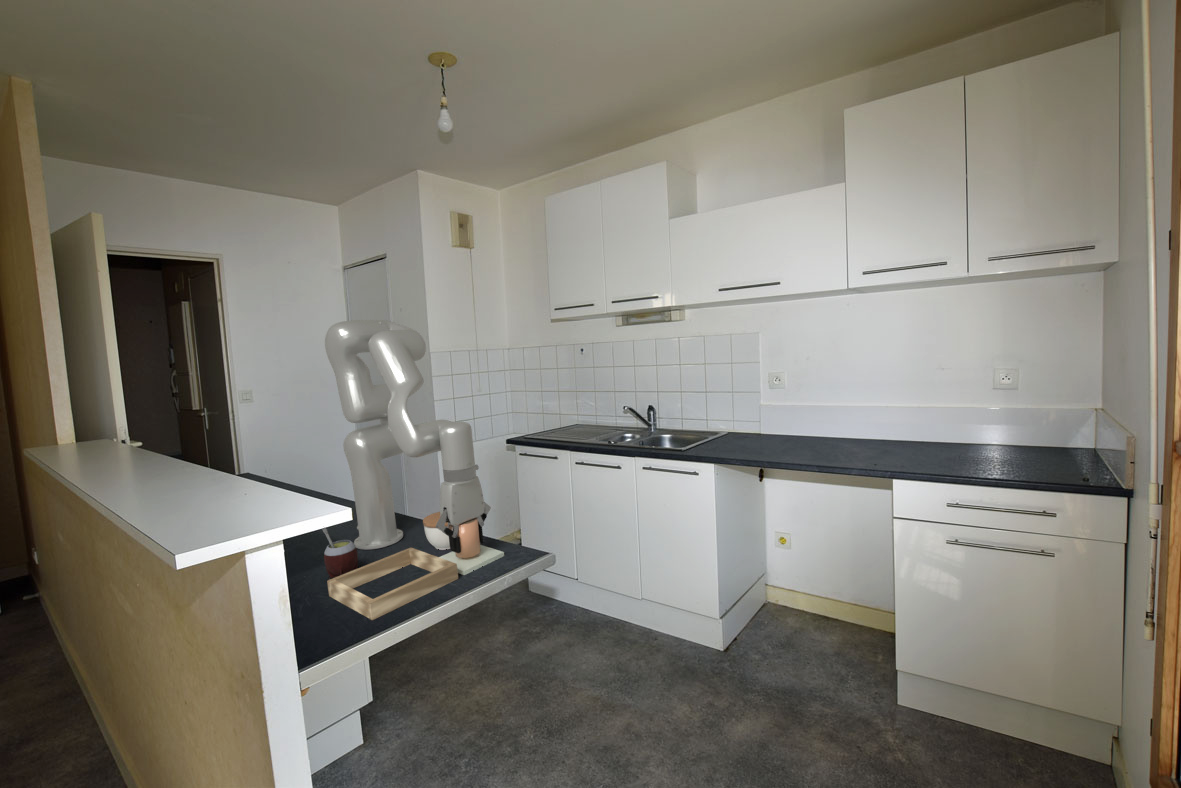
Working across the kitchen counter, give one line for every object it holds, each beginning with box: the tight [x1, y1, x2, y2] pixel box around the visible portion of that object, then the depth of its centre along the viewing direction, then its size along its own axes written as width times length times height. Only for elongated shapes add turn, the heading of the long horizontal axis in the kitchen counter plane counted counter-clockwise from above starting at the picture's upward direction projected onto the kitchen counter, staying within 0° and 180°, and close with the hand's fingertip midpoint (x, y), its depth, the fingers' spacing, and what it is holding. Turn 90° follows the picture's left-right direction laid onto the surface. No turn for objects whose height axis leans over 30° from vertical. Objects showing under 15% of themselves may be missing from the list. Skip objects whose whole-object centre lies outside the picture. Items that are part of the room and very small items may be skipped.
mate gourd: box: [322, 527, 359, 580], centre depth 125 cm, size 8×8×15 cm
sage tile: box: [438, 544, 505, 576], centre depth 130 cm, size 12×12×1 cm
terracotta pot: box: [455, 518, 481, 558], centre depth 129 cm, size 6×6×8 cm
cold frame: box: [326, 547, 459, 621], centre depth 118 cm, size 18×20×4 cm
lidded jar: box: [422, 511, 453, 551], centre depth 140 cm, size 11×11×9 cm
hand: (467, 546), depth 130 cm, fingers closed on terracotta pot, 5 cm apart
